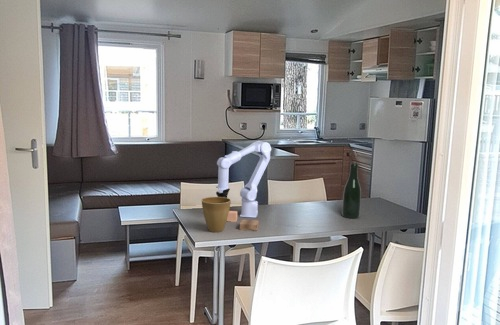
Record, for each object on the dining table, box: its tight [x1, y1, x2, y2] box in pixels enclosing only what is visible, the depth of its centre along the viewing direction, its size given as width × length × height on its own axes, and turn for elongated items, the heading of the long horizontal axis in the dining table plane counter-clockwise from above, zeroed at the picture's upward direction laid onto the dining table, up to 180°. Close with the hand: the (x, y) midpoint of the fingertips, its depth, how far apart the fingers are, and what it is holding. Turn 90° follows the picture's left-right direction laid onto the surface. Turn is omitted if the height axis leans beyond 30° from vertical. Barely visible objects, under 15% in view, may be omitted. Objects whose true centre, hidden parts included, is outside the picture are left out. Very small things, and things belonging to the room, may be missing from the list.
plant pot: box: [201, 196, 232, 233], centre depth 233 cm, size 15×15×16 cm
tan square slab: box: [239, 219, 260, 232], centre depth 241 cm, size 9×9×3 cm
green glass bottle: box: [341, 160, 362, 219], centre depth 268 cm, size 10×10×33 cm
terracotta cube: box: [226, 210, 238, 223], centre depth 253 cm, size 5×5×5 cm
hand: (222, 202), depth 256 cm, fingers open, 7 cm apart
